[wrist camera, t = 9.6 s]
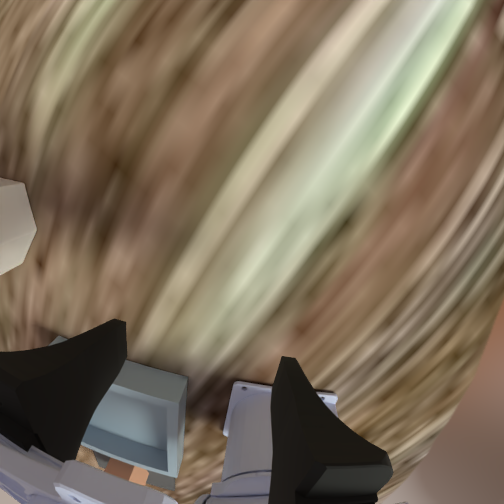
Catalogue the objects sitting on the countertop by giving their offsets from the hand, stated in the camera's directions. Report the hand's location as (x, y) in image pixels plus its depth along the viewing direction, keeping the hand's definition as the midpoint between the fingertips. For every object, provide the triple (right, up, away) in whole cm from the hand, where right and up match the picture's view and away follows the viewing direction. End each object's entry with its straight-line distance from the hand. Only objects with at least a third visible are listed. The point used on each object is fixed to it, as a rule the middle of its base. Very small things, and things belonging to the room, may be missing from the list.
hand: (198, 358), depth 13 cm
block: (-14, -24, +17) cm, 32 cm away
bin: (-11, -12, +14) cm, 21 cm away
